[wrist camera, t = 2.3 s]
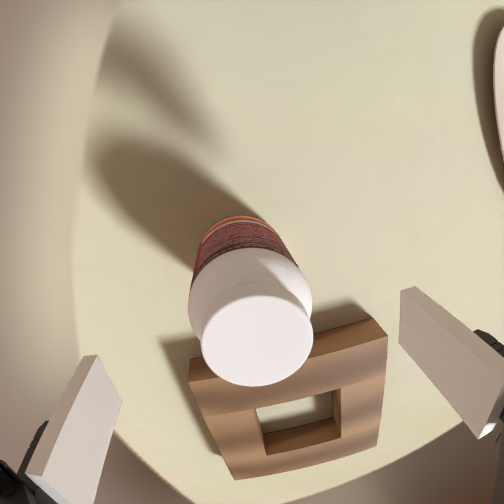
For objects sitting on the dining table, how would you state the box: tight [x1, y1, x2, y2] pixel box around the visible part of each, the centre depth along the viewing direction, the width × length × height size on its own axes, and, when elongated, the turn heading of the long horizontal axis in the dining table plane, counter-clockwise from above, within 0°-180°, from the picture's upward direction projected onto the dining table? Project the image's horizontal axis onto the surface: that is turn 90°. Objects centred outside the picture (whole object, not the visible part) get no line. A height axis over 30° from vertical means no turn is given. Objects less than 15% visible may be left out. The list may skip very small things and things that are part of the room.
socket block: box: [188, 318, 388, 480], centre depth 27 cm, size 16×16×3 cm
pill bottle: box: [188, 216, 313, 386], centre depth 18 cm, size 6×6×11 cm
